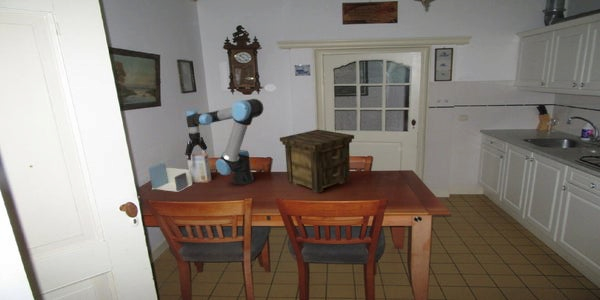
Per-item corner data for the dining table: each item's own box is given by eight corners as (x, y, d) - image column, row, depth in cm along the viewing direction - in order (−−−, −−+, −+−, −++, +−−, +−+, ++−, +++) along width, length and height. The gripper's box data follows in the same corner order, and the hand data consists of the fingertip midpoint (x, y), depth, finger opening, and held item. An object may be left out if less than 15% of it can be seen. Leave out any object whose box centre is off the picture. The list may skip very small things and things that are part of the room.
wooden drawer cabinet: (319, 171, 234) (317, 129, 226) (354, 182, 208) (354, 135, 200) (282, 183, 213) (279, 137, 205) (317, 197, 187) (314, 145, 178)
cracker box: (212, 181, 226) (208, 154, 221) (207, 184, 220) (203, 156, 215) (195, 180, 229) (191, 153, 224) (190, 183, 223) (186, 156, 218)
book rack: (192, 186, 218) (189, 164, 214) (178, 193, 205) (174, 170, 201) (167, 183, 227) (163, 162, 223) (152, 189, 215) (147, 168, 211)
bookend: (187, 186, 214) (185, 172, 212) (178, 191, 206) (176, 177, 204) (186, 186, 215) (184, 172, 212) (176, 190, 207) (174, 177, 204)
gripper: (201, 128, 228) (205, 156, 233) (176, 135, 206) (181, 165, 211) (209, 129, 225) (213, 156, 230) (185, 136, 203) (189, 166, 208)
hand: (198, 161), depth 221 cm, fingers open, 13 cm apart
